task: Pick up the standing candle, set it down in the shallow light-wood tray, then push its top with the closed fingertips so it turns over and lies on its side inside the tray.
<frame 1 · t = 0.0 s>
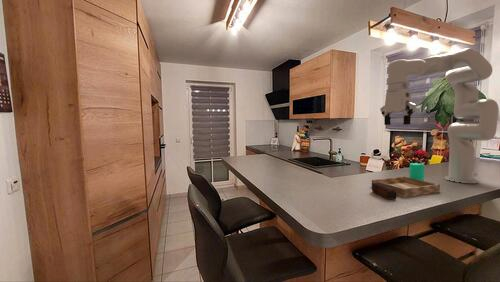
hand: (396, 124, 99), 31 cm above the countertop, tool pointing down, fingers open, 9 cm apart
tray: (403, 189, 101), on the countertop
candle: (416, 183, 110), on the countertop
brick: (383, 196, 92), on the countertop
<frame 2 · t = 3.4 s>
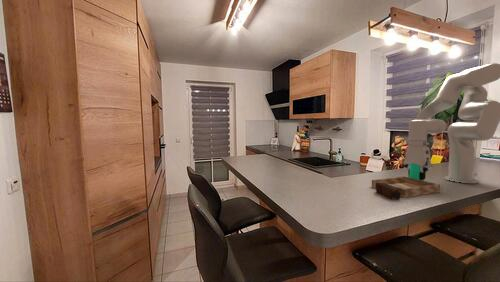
hand: (416, 178, 109), 3 cm above the countertop, tool pointing down, fingers closed on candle, 4 cm apart
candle: (416, 183, 110), on the countertop, touching gripper
brick: (387, 196, 93), on the countertop
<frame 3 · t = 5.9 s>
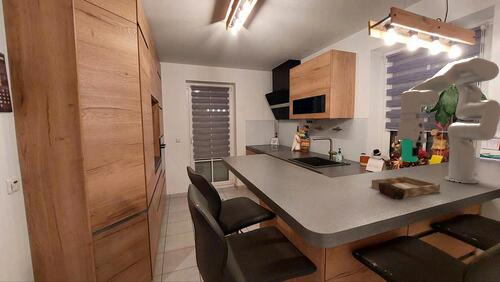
hand: (409, 154, 100), 16 cm above the countertop, tool pointing down, fingers closed on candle, 4 cm apart
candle: (409, 161, 101), point 13 cm above the countertop, touching gripper
brick: (390, 196, 93), on the countertop
when the fingers open (4 cm above the countertop, at t = 8.3 s): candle stays where it is, resting on tray.
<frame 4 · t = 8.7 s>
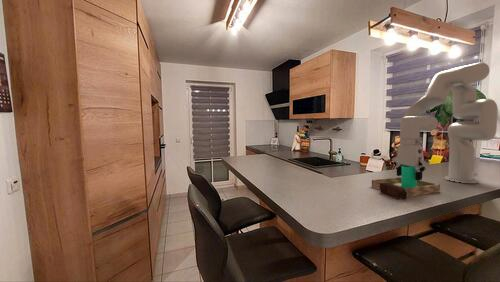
hand: (408, 177, 101), 5 cm above the countertop, tool pointing down, fingers open, 8 cm apart
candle: (408, 187, 102), resting on tray
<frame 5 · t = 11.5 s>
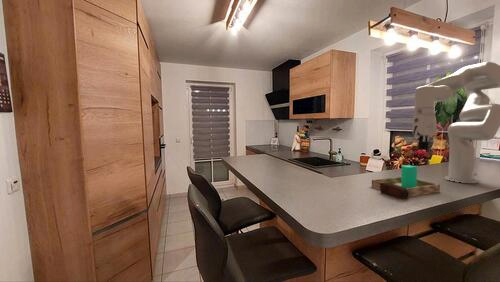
hand: (423, 149, 103), 19 cm above the countertop, tool pointing down, fingers closed
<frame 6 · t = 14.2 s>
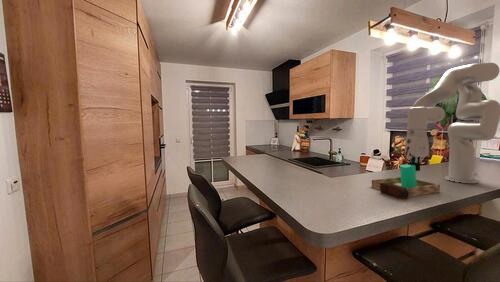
hand: (415, 170, 102), 9 cm above the countertop, tool pointing down, fingers closed
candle: (408, 187, 102), point 1 cm above the countertop, touching gripper, tray
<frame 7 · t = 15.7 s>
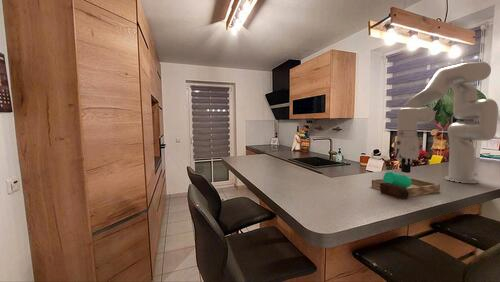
hand: (405, 172, 100), 8 cm above the countertop, tool pointing down, fingers closed
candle: (405, 182, 101), point 3 cm above the countertop, touching tray
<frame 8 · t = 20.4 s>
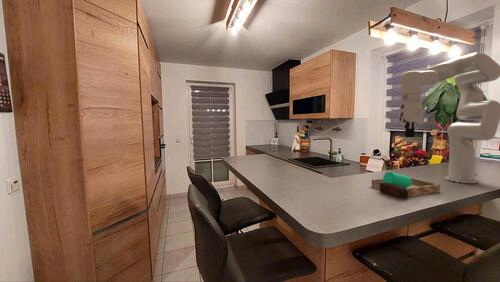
hand: (409, 137, 100), 25 cm above the countertop, tool pointing down, fingers closed
at the end: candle tilted 74°; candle inside the target area (2.3 cm from its centre), point 3.3 cm above the countertop; the gripper is holding nothing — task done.
